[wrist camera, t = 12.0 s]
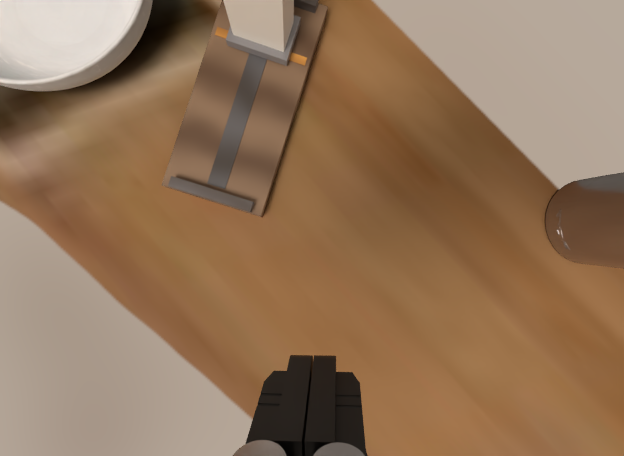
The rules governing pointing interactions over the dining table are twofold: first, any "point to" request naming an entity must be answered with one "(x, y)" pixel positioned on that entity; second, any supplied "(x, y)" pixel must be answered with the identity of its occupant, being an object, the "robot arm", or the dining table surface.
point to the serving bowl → (66, 40)
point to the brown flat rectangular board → (241, 116)
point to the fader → (263, 27)
